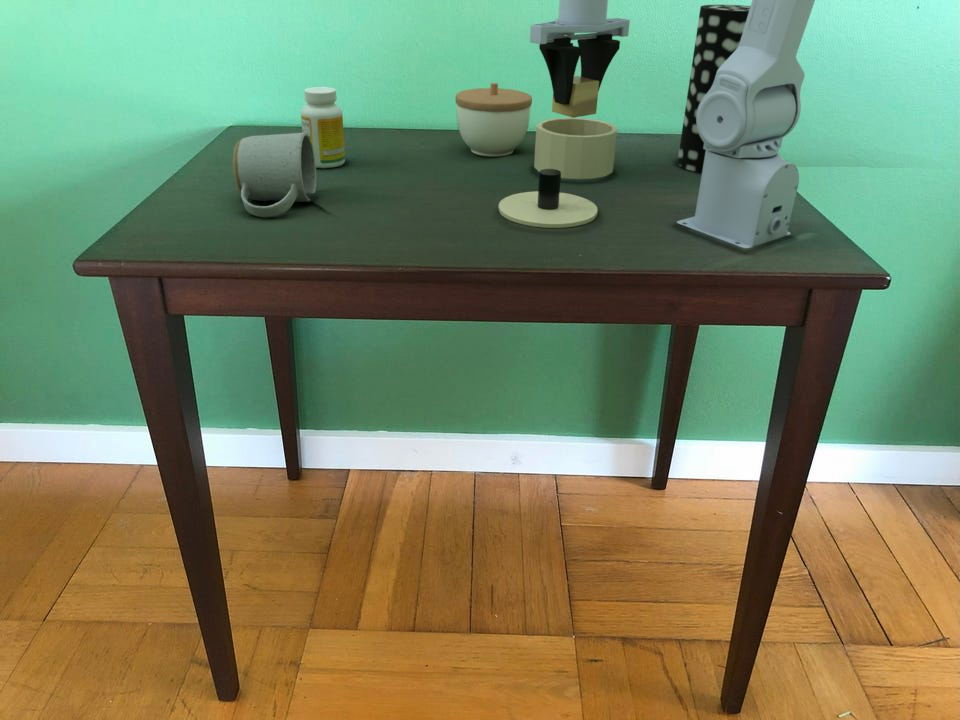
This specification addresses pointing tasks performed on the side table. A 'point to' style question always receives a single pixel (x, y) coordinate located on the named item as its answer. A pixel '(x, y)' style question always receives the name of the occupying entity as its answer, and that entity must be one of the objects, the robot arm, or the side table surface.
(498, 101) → the trinket box
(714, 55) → the white-spotted black cylinder
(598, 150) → the tin
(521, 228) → the side table surface
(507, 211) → the tin lid
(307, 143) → the ceramic mug
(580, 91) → the block
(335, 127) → the supplement bottle
